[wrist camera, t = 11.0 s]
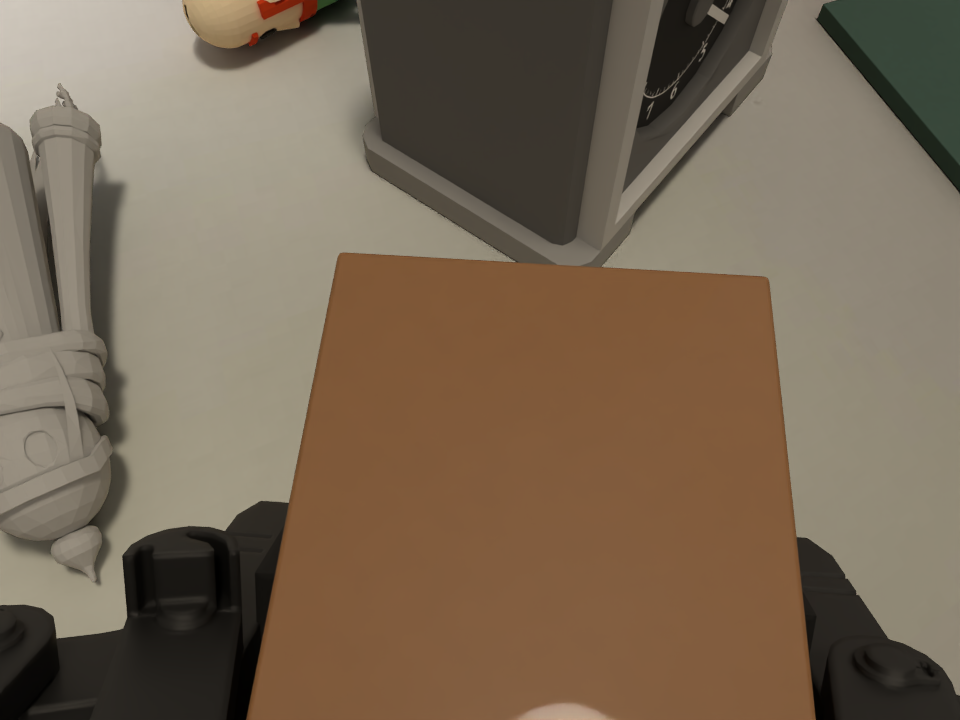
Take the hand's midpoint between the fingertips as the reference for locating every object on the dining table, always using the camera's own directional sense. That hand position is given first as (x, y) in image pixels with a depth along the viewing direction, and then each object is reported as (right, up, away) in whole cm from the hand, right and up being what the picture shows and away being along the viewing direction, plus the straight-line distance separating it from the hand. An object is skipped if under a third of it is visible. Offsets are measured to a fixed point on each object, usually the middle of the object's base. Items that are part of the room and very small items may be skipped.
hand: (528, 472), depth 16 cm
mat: (+25, +17, +27) cm, 40 cm away
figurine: (-22, +5, +21) cm, 31 cm away
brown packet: (0, -5, +1) cm, 5 cm away
